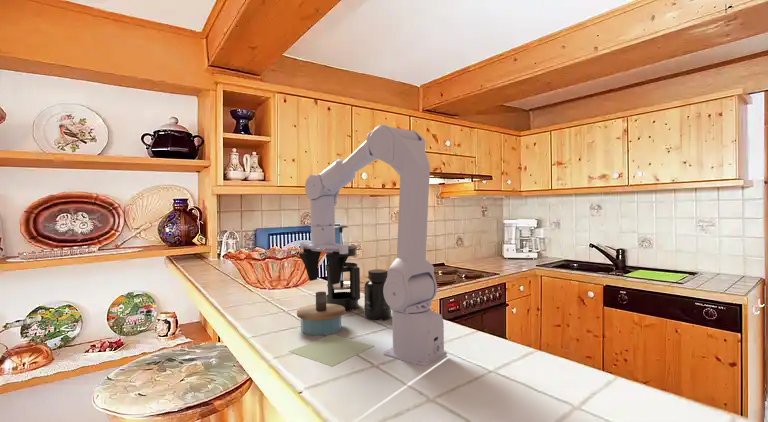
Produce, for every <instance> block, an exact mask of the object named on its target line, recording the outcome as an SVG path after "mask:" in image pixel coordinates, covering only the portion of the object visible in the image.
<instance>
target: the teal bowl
mask: <svg viewBox="0 0 768 422" xmlns="http://www.w3.org/2000/svg"><path fill="white" fill-rule="evenodd" d="M341 329H342V316H340V317H338V318H334V319H329V320H320V321H313V320H304V319H301V318H300V330H301V332H302V333H303V334H306V335H307V336H308V335H310V336H326V335H327V336H328V335H332V334H335V333H336V332H339V331H340V330H341Z"/></svg>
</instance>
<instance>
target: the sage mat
mask: <svg viewBox="0 0 768 422" xmlns="http://www.w3.org/2000/svg"><path fill="white" fill-rule="evenodd" d="M374 347H375V345H372V344H369V343H365V342H361V341H359V340H355V339H350V338H348V337H342V336H340V335H335V334H334V333H332V334H328V335H327V336H324V337H321V338H319V339H317V340H314V341H312V342H309V343H306V344H304V345H302V346H299V347H297V348H294V349H291V350H288V353H291V354H295V355H298V356H300V357H303V358H306V359H309V360H312V361H315V362H318V363H320V364H323V365H327V366H329V367H334V366H336V365H339V364H341V363H342V362H345V361H347V360H349V359H351V358H353V357H355V356H357V355H359V354H361V353H364V352H365V351H367V350H369V349H371V348H374Z"/></svg>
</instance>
